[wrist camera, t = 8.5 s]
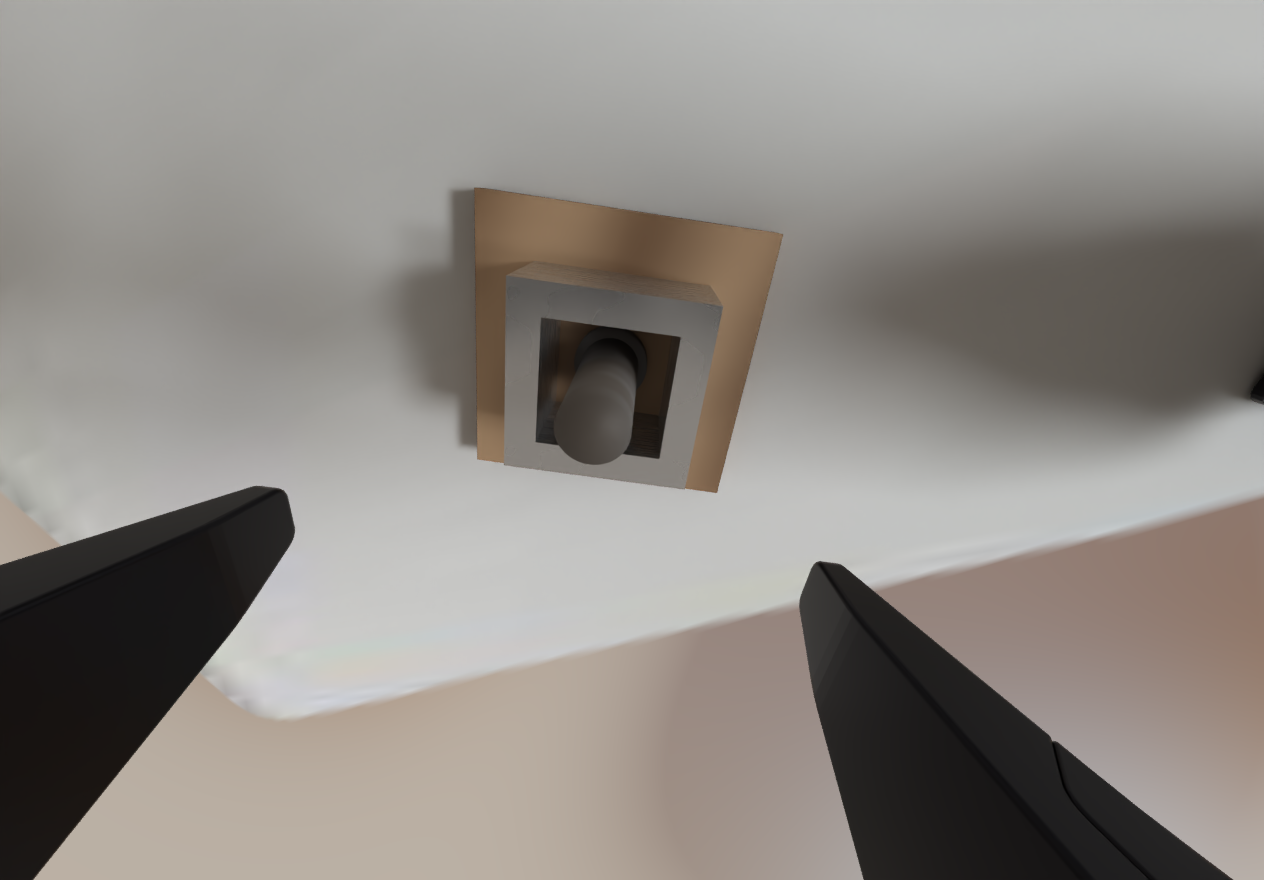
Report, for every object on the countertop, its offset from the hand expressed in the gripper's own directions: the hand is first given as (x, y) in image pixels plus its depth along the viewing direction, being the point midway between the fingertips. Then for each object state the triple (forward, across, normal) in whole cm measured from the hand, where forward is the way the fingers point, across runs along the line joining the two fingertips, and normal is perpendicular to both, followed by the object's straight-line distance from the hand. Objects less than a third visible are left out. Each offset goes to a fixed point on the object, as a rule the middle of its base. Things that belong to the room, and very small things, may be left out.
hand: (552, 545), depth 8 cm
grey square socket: (+11, 0, 0) cm, 11 cm away
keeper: (+12, 0, 0) cm, 12 cm away
